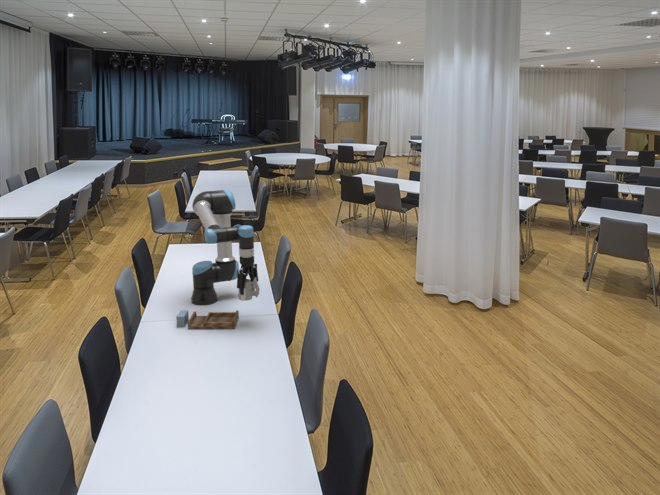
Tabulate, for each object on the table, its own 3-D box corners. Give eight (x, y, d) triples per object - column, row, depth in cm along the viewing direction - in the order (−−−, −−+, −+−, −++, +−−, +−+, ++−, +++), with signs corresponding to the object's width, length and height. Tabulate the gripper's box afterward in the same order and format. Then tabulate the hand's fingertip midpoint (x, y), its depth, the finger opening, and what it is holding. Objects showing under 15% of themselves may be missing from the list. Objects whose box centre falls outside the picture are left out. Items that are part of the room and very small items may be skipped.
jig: (188, 329, 284) (187, 321, 282) (194, 318, 298) (194, 310, 297) (234, 329, 284) (234, 321, 283) (238, 318, 298) (238, 310, 297)
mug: (241, 295, 293) (240, 273, 290) (262, 297, 290) (261, 275, 287) (235, 300, 285) (234, 278, 282) (257, 302, 283) (256, 280, 280)
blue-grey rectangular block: (184, 327, 286) (183, 316, 285) (177, 327, 286) (176, 316, 285) (188, 320, 295) (188, 310, 294) (181, 320, 295) (180, 310, 294)
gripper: (239, 261, 271) (241, 305, 277) (264, 252, 288) (265, 293, 294) (228, 259, 275) (230, 302, 281) (253, 250, 291) (254, 290, 297)
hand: (248, 297), depth 287 cm, fingers closed on mug, 7 cm apart
